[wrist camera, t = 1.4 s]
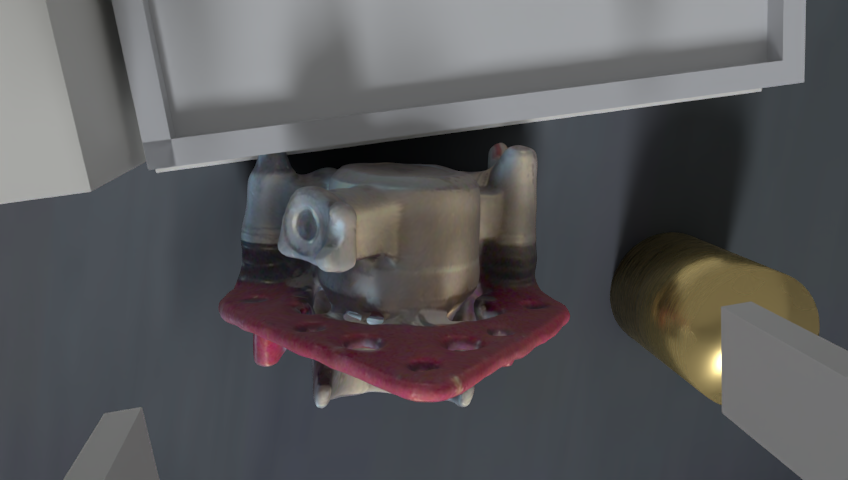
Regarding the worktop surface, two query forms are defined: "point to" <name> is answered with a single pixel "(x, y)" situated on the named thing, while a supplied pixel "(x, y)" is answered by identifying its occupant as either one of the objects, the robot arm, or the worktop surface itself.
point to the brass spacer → (697, 302)
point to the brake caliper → (393, 274)
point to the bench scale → (347, 74)
